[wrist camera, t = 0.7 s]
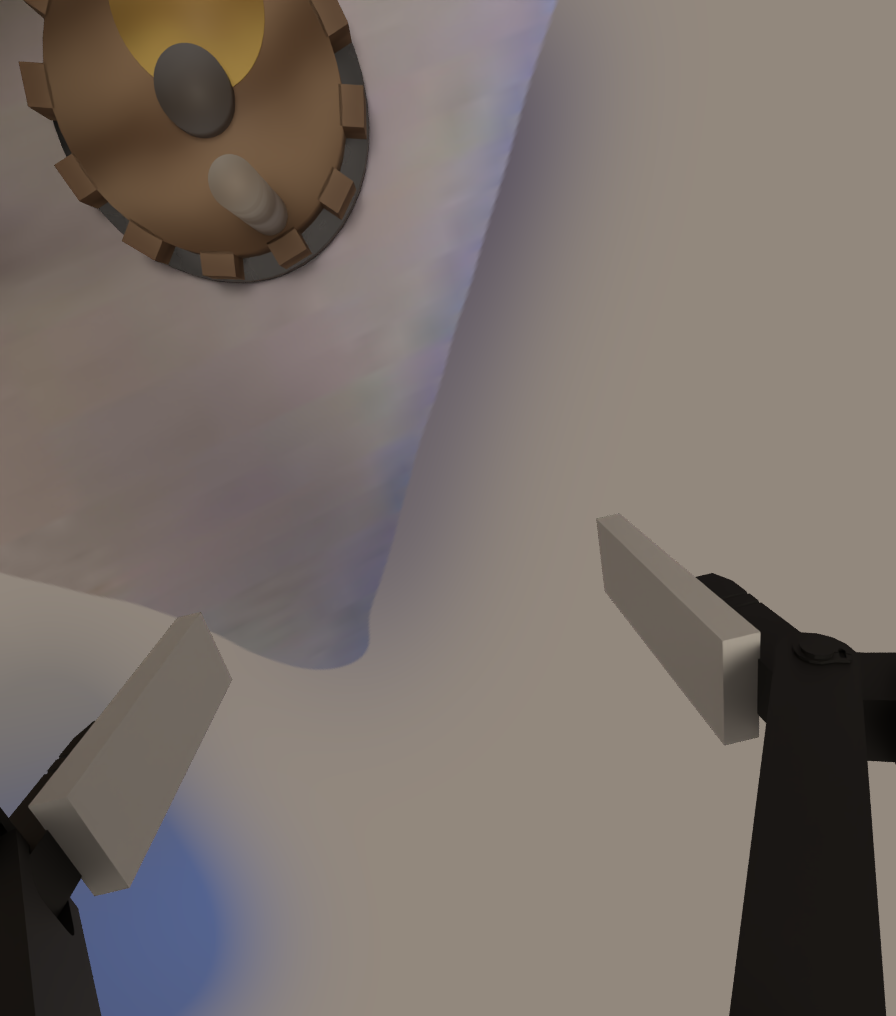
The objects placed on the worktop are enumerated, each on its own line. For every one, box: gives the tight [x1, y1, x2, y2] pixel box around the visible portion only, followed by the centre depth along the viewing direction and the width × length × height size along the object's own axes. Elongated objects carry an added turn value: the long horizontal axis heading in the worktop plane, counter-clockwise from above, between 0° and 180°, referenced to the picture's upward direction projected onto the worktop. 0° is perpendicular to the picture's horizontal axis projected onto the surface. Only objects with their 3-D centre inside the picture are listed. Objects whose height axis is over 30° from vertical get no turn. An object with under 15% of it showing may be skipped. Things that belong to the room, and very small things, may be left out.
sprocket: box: [19, 0, 367, 280], centre depth 25 cm, size 18×18×8 cm
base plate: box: [53, 42, 369, 283], centre depth 30 cm, size 19×19×1 cm
